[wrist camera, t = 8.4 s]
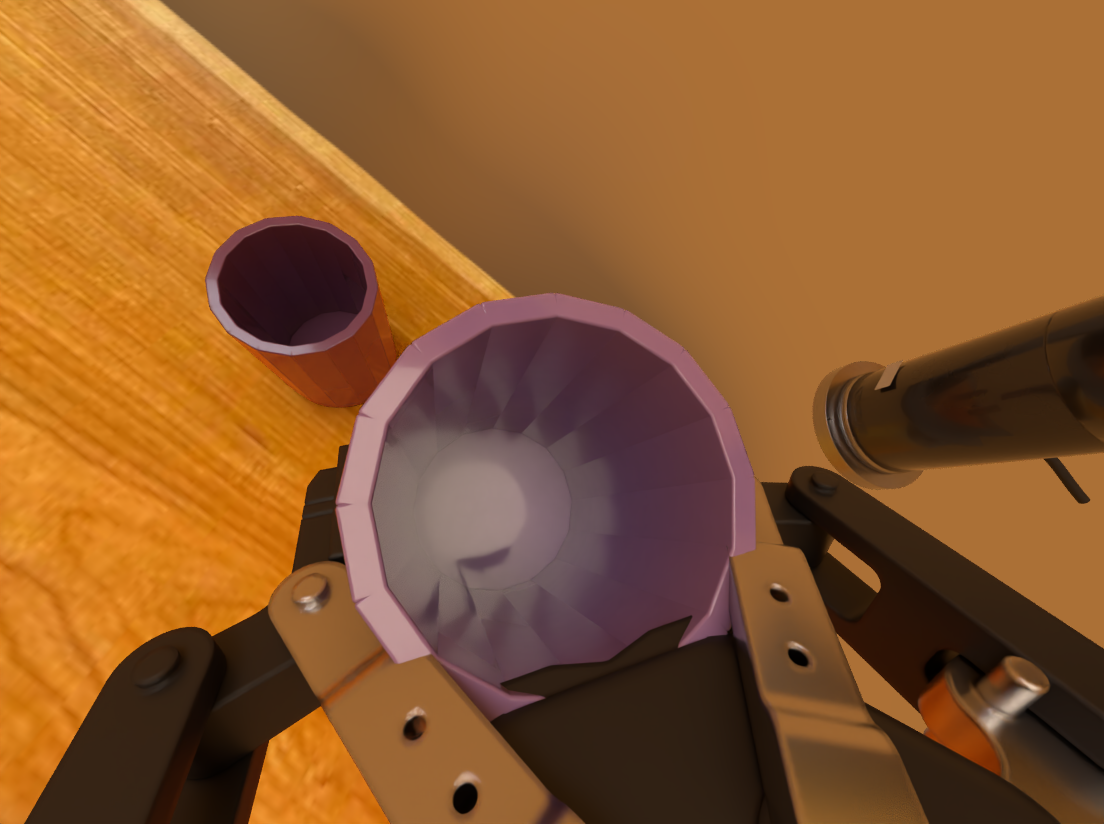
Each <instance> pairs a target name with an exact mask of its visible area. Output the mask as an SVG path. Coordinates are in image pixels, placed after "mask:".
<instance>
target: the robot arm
mask: <svg viewBox="0 0 1104 824" xmlns="http://www.w3.org/2000/svg"><path fill="white" fill-rule="evenodd" d="M902 361H903V360H902ZM902 361H899V362H896V363H893V364H890V365H887V367H886V368H883V369H880V370H877V371H872V372H868V373H865V374H862V375H859V376H856V377H854V378H852V379H851V380H850V381H849V382H848V383H847V384H846V385H845V386H844V388H843V390H842V392H841V394H840V398H839V402H838V419H839V425H840V428H841V431H842V434H843V437H844V439H845V441H846V443H847V445H848V446H849V448H850V449H851V451H852V452H853V453H854V455H855V456H856V457H857V458H858V459H859V460H860V461H861V462H862V463H864V464H865V465H866V466H868V467H869V468H871V469H873V470H875V471H877V472H880V473H884V474H900V473H907V472H910V471H918V470H927V469H941V468H952V467H962V466H972V465H983V464H992V463H1004V462H1014V461H1024V460H1035V459H1044V460H1045V461H1046V462H1047V463H1048V464H1049V466H1050V467H1051V468H1052V469H1053V471H1054V472H1055V473H1056V474H1057V476H1058V477H1059V479H1060V480H1061V481H1062V483H1063V484H1064V485H1065V487H1066V488H1067V489H1068V491H1069V492H1070V493H1071V495H1072V496H1073V497H1074V498H1075V499H1076V500H1077V502H1078V503H1081V504H1084V503H1088V502H1089V501H1090V499H1089V497H1088V496H1087V495H1086V494H1085V493H1084V492H1083V490H1082V489H1081V488H1080V487H1079V485H1078V484H1077V483H1076V481H1075V480H1074V479H1073V477H1072V476H1071V474H1070V473H1069V472H1068V470H1067V469H1066V468H1065V466H1064V465H1063V464H1062V463H1061V461H1060V460H1059V459H1058V458H1057V457H1066V456H1075V455H1087V454H1097V453H1104V294H1103V295H1101V296H1097V297H1094V298H1092V299H1089V300H1086V301H1083V302H1080V303H1077V304H1074V305H1071V306H1068V307H1065V308H1062V309H1059V310H1057V311H1054V312H1051V313H1047V314H1045V315H1042V316H1039V317H1036V318H1033V319H1030V320H1027V321H1024V322H1021V323H1018V324H1015V325H1012V326H1009V327H1006V328H1003V329H1000V330H997V331H994V332H991V333H988V334H985V335H982V336H979V337H976V338H973V339H970V340H967V341H964V342H961V343H958V344H955V345H952V346H949V347H946V348H943V349H940V350H937V351H934V352H931V353H928V354H925V355H922V356H919V357H916V358H913V359H910V360H907V361H904V362H902ZM348 448H349V445H343V446H340V447H339V454H338V464H337V467H335V468H330V469H324V470H320V471H319V472H318V473H317V475H316V476H315V477H314V478H313V480H312V481H311V482H310V484H309V485H308V487H307V492H306V498H305V506H304V509H303V514H302V518H303V520H301V525H300V531H299V536H298V542H297V547H296V553H295V559H294V564H293V570H292V574H290V575H289V576H288V577H287V578H285V579H284V580H283V581H282V582H281V583H280V584H279V585H278V587H277V588H276V589H275V591H274V592H273V594H272V596H271V598H270V601H269V605H268V606H266V607H265V608H264V609H262V610H261V611H259V612H258V613H256V614H254V615H253V616H251V617H249V618H247V619H245V620H243V621H241V622H239V623H237V624H235V625H233V626H231V627H230V628H228V629H226V630H224V631H222V632H220V633H218V634H216V635H214V636H211V635H210V634H209V633H208V632H207V631H206V630H204V629H202V628H197V627H185V628H179V629H175V630H171V631H168V632H166V633H163V634H161V635H159V636H157V637H155V638H153V639H151V640H149V641H148V642H146V643H144V644H143V645H141V646H140V647H139V648H137V649H136V650H135V651H133V652H132V653H131V654H130V655H129V656H127V657H126V658H125V659H124V660H123V661H122V662H121V663H120V664H119V665H118V666H117V668H116V669H115V670H114V671H113V672H112V674H111V675H110V677H109V678H108V680H107V681H106V683H105V685H104V687H103V688H102V690H101V692H100V693H99V695H98V697H97V699H96V700H95V702H94V704H93V706H92V707H91V709H90V711H89V713H88V714H87V716H86V718H85V719H84V721H83V723H82V725H81V726H80V728H79V730H78V732H77V733H76V735H75V737H74V738H73V740H72V742H71V744H70V745H69V747H68V749H67V751H66V752H65V754H64V756H63V758H62V759H61V761H60V763H59V764H58V766H57V768H56V770H55V771H54V773H53V775H52V777H51V778H50V780H49V782H48V784H47V785H46V787H45V789H44V790H43V792H42V794H41V796H40V797H39V799H38V801H37V803H36V804H35V806H34V808H33V809H32V811H31V813H30V815H29V816H28V818H27V820H26V822H25V823H24V824H248V822H249V818H250V814H251V810H252V806H253V802H254V798H255V794H256V790H257V787H258V783H259V779H260V775H261V771H262V767H263V763H264V759H265V755H266V751H267V747H268V743H269V740H270V739H271V738H273V737H274V736H276V735H278V734H279V733H281V732H282V731H284V730H285V729H287V728H288V727H290V726H291V725H293V724H294V723H296V722H297V721H299V720H300V719H302V718H303V717H305V716H306V715H308V714H309V713H311V712H312V711H314V710H315V709H317V708H318V707H320V706H321V707H322V708H323V710H324V712H325V713H326V715H327V717H328V718H329V720H330V722H331V724H332V725H333V727H334V729H335V730H336V732H337V734H338V735H339V737H340V739H341V741H342V742H343V744H344V746H345V747H346V749H347V751H348V752H349V754H350V756H351V758H352V759H353V761H354V763H355V764H356V766H357V768H358V769H359V771H360V773H361V775H362V776H363V778H364V780H365V781H366V783H367V785H368V786H369V788H370V790H371V792H372V793H373V795H374V797H375V798H376V800H377V802H378V803H379V805H380V807H381V809H382V810H383V812H384V814H385V815H386V817H387V819H388V820H389V822H390V824H1104V649H1103V648H1102V647H1100V646H1098V645H1097V644H1095V643H1094V642H1093V641H1091V640H1089V639H1088V638H1086V637H1085V636H1083V635H1082V634H1080V633H1079V632H1077V631H1076V630H1074V629H1073V628H1071V627H1070V626H1068V625H1067V624H1065V623H1064V622H1062V621H1061V620H1059V619H1058V618H1056V617H1055V616H1053V615H1051V614H1050V613H1048V612H1047V611H1045V610H1044V609H1042V608H1041V607H1039V606H1038V605H1036V604H1035V603H1033V602H1032V601H1030V600H1029V599H1027V598H1026V597H1024V596H1023V595H1021V594H1020V593H1018V592H1017V591H1015V590H1013V589H1012V588H1010V587H1009V586H1007V585H1006V584H1004V583H1003V582H1001V581H1000V580H998V579H997V578H995V577H994V576H992V575H990V574H989V573H988V572H986V571H985V570H983V569H982V568H980V567H979V566H977V565H975V564H974V563H972V562H971V561H969V560H968V559H966V558H965V557H963V556H962V555H960V554H959V553H957V552H956V551H954V550H953V549H951V548H950V547H948V546H947V545H945V544H943V543H942V542H940V541H939V540H937V539H936V538H934V537H933V536H931V535H930V534H928V533H927V532H925V531H924V530H922V529H921V528H919V527H918V526H916V525H915V524H913V523H912V522H910V521H908V520H907V519H905V518H904V517H903V516H901V515H899V514H898V513H896V512H895V511H893V510H892V509H890V508H889V507H887V506H885V505H884V504H883V503H881V502H880V501H878V500H877V499H875V498H874V497H872V496H871V495H869V494H868V493H866V492H864V491H863V490H861V489H860V488H858V487H856V486H855V485H854V484H852V483H850V482H849V481H848V480H846V479H845V478H843V477H841V476H840V475H838V474H836V473H834V472H832V471H830V470H827V469H824V468H819V467H814V466H804V467H799V468H797V469H795V470H794V471H793V473H792V475H791V477H790V480H789V482H788V483H767V482H760V481H759V480H758V479H757V478H756V477H755V476H754V478H755V510H756V549H755V550H753V551H749V552H746V553H743V554H740V555H737V556H734V557H731V556H729V615H730V620H731V625H732V626H731V629H730V630H729V631H727V632H728V634H727V635H716V636H708V637H707V638H705V639H702V640H699V641H696V642H693V643H690V644H688V645H685V646H682V647H680V648H678V645H679V642H680V640H681V638H682V636H683V634H684V632H685V630H686V629H687V627H688V625H689V623H690V621H691V619H692V615H690V616H688V617H685V618H682V619H679V620H676V621H674V622H671V623H668V624H665V625H662V626H659V627H657V628H654V629H651V630H648V631H647V632H646V633H644V634H643V635H642V636H640V637H639V638H638V639H636V640H635V641H634V642H632V643H631V644H630V645H628V646H627V647H626V648H624V649H623V650H622V651H620V652H619V653H618V654H616V655H615V656H614V657H612V658H611V659H609V660H607V661H602V662H589V663H575V664H561V665H550V666H547V667H544V668H541V669H538V670H536V671H533V672H530V673H527V674H524V675H522V676H519V677H516V678H513V679H510V680H508V681H505V682H502V683H500V684H501V685H502V686H504V687H505V688H506V689H508V690H510V691H516V692H522V693H528V694H535V695H540V696H543V697H545V698H544V699H542V700H539V701H537V702H534V703H531V704H529V705H526V706H523V707H521V708H518V709H516V710H513V711H511V712H509V713H506V714H504V713H503V714H502V715H500V716H498V717H497V718H495V719H494V720H492V721H490V722H489V721H488V720H487V718H486V717H485V716H484V715H483V714H482V712H481V711H480V710H479V709H478V708H477V707H476V705H475V704H474V703H473V702H472V701H471V700H470V698H469V697H468V696H467V695H466V694H465V693H464V691H463V690H462V689H461V688H460V687H459V686H458V684H457V683H456V682H455V681H454V680H453V679H452V677H451V676H450V675H449V674H448V673H447V672H446V670H445V669H444V668H443V667H442V666H441V665H440V663H439V662H438V661H437V660H436V659H435V658H434V656H433V655H432V654H431V653H430V654H428V655H425V656H422V657H419V658H416V659H413V660H410V661H406V662H403V663H400V664H398V663H394V662H393V661H392V659H391V658H390V656H389V655H388V654H387V652H386V651H385V649H384V648H383V647H382V645H381V644H380V642H379V641H378V640H377V638H376V637H375V635H374V634H373V633H372V631H371V630H370V628H369V627H368V626H367V624H366V623H365V621H364V620H363V619H362V617H361V616H360V614H359V613H358V612H357V610H356V609H355V603H353V601H352V599H351V593H350V588H349V582H348V577H347V572H346V566H345V561H344V555H343V550H342V544H341V539H340V533H339V528H338V522H337V517H336V512H335V509H336V506H338V505H336V497H337V493H338V489H339V485H340V481H341V477H342V473H343V469H344V464H345V460H346V456H347V452H348ZM834 539H836V540H837V541H838V542H839V543H841V544H842V545H843V546H844V547H846V548H847V549H848V550H850V551H851V552H852V553H854V554H855V555H856V556H857V557H858V558H860V559H861V560H862V561H864V562H865V563H866V564H867V565H869V566H870V567H871V568H872V569H873V570H874V571H875V572H876V574H877V575H878V577H879V579H880V583H881V589H880V591H879V592H878V593H876V592H875V591H874V590H873V589H872V588H871V587H869V586H868V585H867V584H866V583H864V582H863V581H862V580H861V579H860V578H858V577H857V576H856V575H855V574H854V573H852V572H851V571H850V570H849V569H847V568H846V567H845V566H844V565H842V564H841V563H840V562H839V561H838V560H837V559H835V558H834V557H833V556H832V555H831V554H829V553H828V552H827V551H828V549H829V547H830V545H831V544H832V542H833V540H834ZM726 547H727V545H726ZM727 550H728V547H727ZM836 633H837V634H838V635H839V636H840V637H841V638H842V639H843V640H844V641H846V643H848V644H849V645H850V646H851V647H852V648H853V649H854V650H855V651H856V652H857V653H858V654H859V655H860V656H861V657H862V658H863V659H864V660H865V661H866V662H867V663H868V664H869V665H870V666H871V667H872V668H873V669H875V670H876V671H877V672H878V673H879V674H880V675H881V676H882V677H883V678H884V679H885V680H886V681H887V682H888V683H889V684H890V685H891V686H892V687H893V688H894V689H895V690H896V691H897V692H898V693H899V694H900V695H902V697H903V698H905V699H906V700H907V701H908V702H909V703H910V704H911V705H912V706H913V707H914V708H915V709H916V710H917V711H918V712H919V713H920V714H921V716H922V718H923V720H924V722H925V723H926V725H927V728H926V729H925V731H924V734H922V733H920V732H918V731H916V730H914V729H913V728H911V727H909V726H907V725H905V724H903V723H901V722H900V721H898V720H896V719H894V718H892V717H890V716H889V715H887V714H885V713H883V712H881V711H880V710H878V709H876V708H874V707H872V706H870V705H869V704H867V703H865V702H864V701H863V699H862V696H861V694H860V692H859V689H858V686H857V684H856V681H855V679H854V676H853V674H852V671H851V669H850V666H849V664H848V661H847V659H846V657H845V654H844V652H843V649H842V647H841V644H840V642H839V639H838V637H837V634H836Z"/></svg>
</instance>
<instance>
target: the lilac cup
mask: <svg viewBox="0 0 1104 824" xmlns="http://www.w3.org/2000/svg"><path fill="white" fill-rule="evenodd" d="M411 344H412V345H408V346H407V348H406V349H405V350H404V351H403V353H402V354H401V355H400V357H399V358H398V359H397V361H396V362H395V363H394V365H393V366H392V367H391V369H390V370H389V371H388V373H387V374H386V375H385V377H384V378H383V379H382V381H381V382H380V383H379V385H378V386H377V387H376V389H375V390H374V391H373V393H372V394H371V395H370V397H369V398H368V399H367V400H366V402H365V403H364V404H363V406H362V407H361V408H360V410H359V414H358V415H357V416H356V419H355V423H354V427H353V431H352V436H351V440H350V444H349V448H348V452H347V456H346V460H345V464H344V469H343V473H342V477H341V481H340V485H339V489H338V493H337V497H336V505H338V506H336V509H335V512H336V517H337V522H338V528H339V533H340V539H341V544H342V550H343V555H344V561H345V566H346V572H347V577H348V582H349V588H350V593H351V599H352V601H353V603H355V609H356V610H357V612H358V613H359V614H360V616H361V617H362V619H363V620H364V621H365V623H366V624H367V626H368V627H369V628H370V630H371V631H372V633H373V634H374V635H375V637H376V638H377V640H378V641H379V642H380V644H381V645H382V647H383V648H384V649H385V651H386V652H387V654H388V655H389V656H390V658H391V659H392V661H393V662H394V663H398V664H400V663H403V662H406V661H410V660H413V659H416V658H419V657H422V656H425V655H428V654H430V653H431V654H432V655H433V656H434V658H435V659H436V660H437V661H438V662H439V663H440V665H441V666H442V667H443V668H444V669H445V670H446V672H447V673H448V674H449V675H450V676H451V677H452V679H453V680H454V681H455V682H456V683H457V684H458V686H459V687H460V688H461V689H462V690H463V691H464V693H465V694H466V695H467V696H468V697H469V698H470V700H471V701H472V702H473V703H474V704H475V705H476V707H477V708H478V709H479V710H480V711H481V712H482V714H483V715H484V716H485V717H486V718H487V720H488V721H489V722H490V721H492V720H494V719H495V718H497V717H498V716H500V715H502V714H503V713H504V714H506V713H509V712H511V711H513V710H516V709H518V708H521V707H523V706H526V705H529V704H531V703H534V702H537V701H539V700H542V699H544V698H545V697H543V696H540V695H535V694H528V693H522V692H516V691H510V690H508V689H506V688H505V687H504V686H502V685H501V684H500V683H502V682H505V681H508V680H510V679H513V678H516V677H519V676H522V675H524V674H527V673H530V672H533V671H536V670H538V669H541V668H544V667H547V666H550V665H561V664H575V663H589V662H602V661H607V660H609V659H611V658H612V657H614V656H615V655H616V654H618V653H619V652H620V651H622V650H623V649H624V648H626V647H627V646H628V645H630V644H631V643H632V642H634V641H635V640H636V639H638V638H639V637H640V636H642V635H643V634H644V633H646V632H647V631H648V630H651V629H654V628H657V627H659V626H662V625H665V624H668V623H671V622H674V621H676V620H679V619H682V618H685V617H688V616H690V615H692V619H691V621H690V623H689V625H688V627H687V629H686V630H685V632H684V634H683V636H682V638H681V640H680V642H679V645H678V648H680V647H682V646H685V645H688V644H690V643H693V642H696V641H699V640H702V639H705V638H707V637H708V636H716V635H727V634H728V632H727V631H729V630H730V629H731V626H732V625H731V620H730V615H729V556H731V557H734V556H737V555H740V554H743V553H746V552H749V551H753V550H755V549H756V510H755V478H754V472H753V470H752V467H751V464H750V461H749V459H748V456H747V452H746V450H745V447H744V444H743V441H742V439H741V435H740V433H739V430H738V427H737V424H736V421H735V418H734V416H733V413H732V410H731V408H730V407H728V406H729V405H728V403H727V401H726V400H725V399H724V398H723V396H722V395H721V394H720V392H719V391H718V390H717V389H716V387H715V386H714V385H713V383H712V382H711V381H710V380H709V378H708V377H707V376H706V374H705V373H704V372H703V371H702V369H701V368H700V367H699V366H698V364H697V363H696V361H695V360H694V359H693V358H692V356H691V355H690V354H689V352H688V351H687V350H684V347H683V346H681V345H679V344H678V343H676V342H675V341H673V340H672V339H670V338H669V337H667V336H666V335H664V334H663V333H661V332H660V331H658V330H657V329H655V328H654V327H652V326H651V325H649V324H647V323H646V322H644V321H643V320H641V319H640V318H638V317H637V316H635V315H634V314H632V313H631V312H629V311H628V310H625V311H624V309H623V308H618V307H614V306H610V305H606V304H602V303H597V302H593V301H589V300H585V299H581V298H576V297H572V296H568V295H564V294H559V293H555V294H554V293H547V294H540V295H532V296H525V297H518V298H510V299H503V300H496V301H488V302H483V303H481V305H480V304H477V305H475V306H473V307H471V308H470V309H468V310H466V311H465V312H463V313H461V314H459V315H458V316H456V317H454V318H452V319H451V320H449V321H447V322H446V323H444V324H442V325H440V326H439V327H437V328H435V329H433V330H432V331H430V332H428V333H426V334H425V335H423V336H421V337H420V338H418V339H416V340H414V341H413V342H412V343H411ZM726 545H727V547H728V550H727V547H726Z"/></svg>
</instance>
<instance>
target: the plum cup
mask: <svg viewBox="0 0 1104 824" xmlns="http://www.w3.org/2000/svg"><path fill="white" fill-rule="evenodd" d="M205 282H206V289H207V295H208V302H209V307H210V310H211V311H212V312H213V314H214V315H215V317H216V318H217V319H218V321H219V322H220V323H221V325H222V326H223V328H224V329H225V330H226V332H227V333H228V334H229V335H231V336H232V337H233V338H234V339H235V340H236V341H238V342H239V343H240V344H241V345H242V346H243V347H244V348H246V349H247V350H248V351H249V352H250V353H251V354H253V355H254V356H255V357H256V358H257V359H258V360H260V361H261V362H262V363H263V364H264V365H265V366H266V367H268V368H269V369H270V370H271V371H272V372H273V373H275V374H276V375H277V376H278V377H279V378H280V379H282V380H283V381H284V382H285V383H286V384H287V385H288V386H290V387H291V388H292V389H293V390H294V391H295V392H297V393H299V394H300V395H302V396H303V397H305V398H306V399H308V400H310V401H312V402H314V403H316V404H319V405H323V406H327V407H336V408H337V407H350V406H355V405H358V404H361V403H364V402H366V400H367V399H368V398H369V397H370V395H371V394H372V393H373V391H374V390H375V389H376V387H377V386H378V385H379V383H380V382H381V381H382V379H383V378H384V377H385V375H386V374H387V373H388V371H389V370H390V369H391V367H392V366H393V365H394V363H395V362H396V350H395V346H394V341H393V337H392V333H391V329H390V325H389V322H388V318H387V314H386V310H385V307H384V303H383V299H382V295H381V291H380V288H379V284H378V280H377V276H376V273H375V269H374V265H373V262H372V260H371V259H370V258H369V256H368V255H367V254H366V252H365V251H364V250H363V248H362V247H361V246H360V244H359V243H358V242H357V240H355V239H354V238H353V237H351V236H350V235H348V234H346V233H345V232H343V231H342V230H340V229H338V228H337V227H335V226H334V225H332V224H330V223H327V222H323V221H319V220H314V219H310V218H306V217H302V216H289V217H275V218H267V219H263V220H261V221H258V222H256V223H253V224H251V225H249V226H246V227H244V228H242V229H239V230H237V231H236V232H235V233H234V234H233V235H232V236H231V237H230V238H229V239H228V240H227V241H225V242H224V243H223V244H222V245H221V246H220V247H219V248H218V249H217V250H216V252H215V253H214V256H213V259H212V261H211V264H210V267H209V269H208V272H207V275H206V279H205Z"/></svg>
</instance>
